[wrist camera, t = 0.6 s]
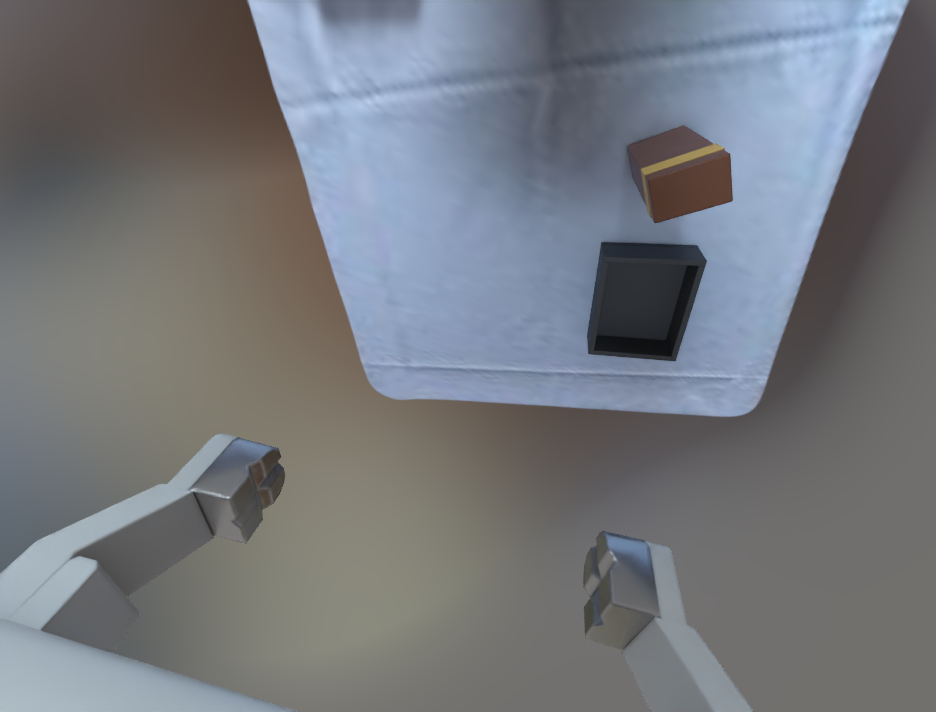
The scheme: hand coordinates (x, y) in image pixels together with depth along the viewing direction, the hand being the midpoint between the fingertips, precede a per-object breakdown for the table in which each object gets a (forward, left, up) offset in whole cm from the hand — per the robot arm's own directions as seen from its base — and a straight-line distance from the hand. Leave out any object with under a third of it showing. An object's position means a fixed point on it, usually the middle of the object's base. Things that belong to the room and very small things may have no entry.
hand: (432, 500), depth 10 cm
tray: (+14, +12, -40) cm, 44 cm away
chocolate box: (-1, +11, -40) cm, 42 cm away
